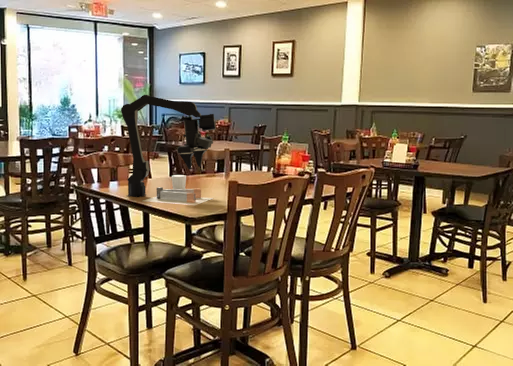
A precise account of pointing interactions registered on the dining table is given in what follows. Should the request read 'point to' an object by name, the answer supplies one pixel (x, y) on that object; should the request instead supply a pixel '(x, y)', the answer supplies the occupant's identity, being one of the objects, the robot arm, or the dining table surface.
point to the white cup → (178, 181)
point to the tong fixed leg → (178, 196)
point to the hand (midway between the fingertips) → (194, 167)
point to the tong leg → (194, 190)
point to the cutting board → (198, 201)
